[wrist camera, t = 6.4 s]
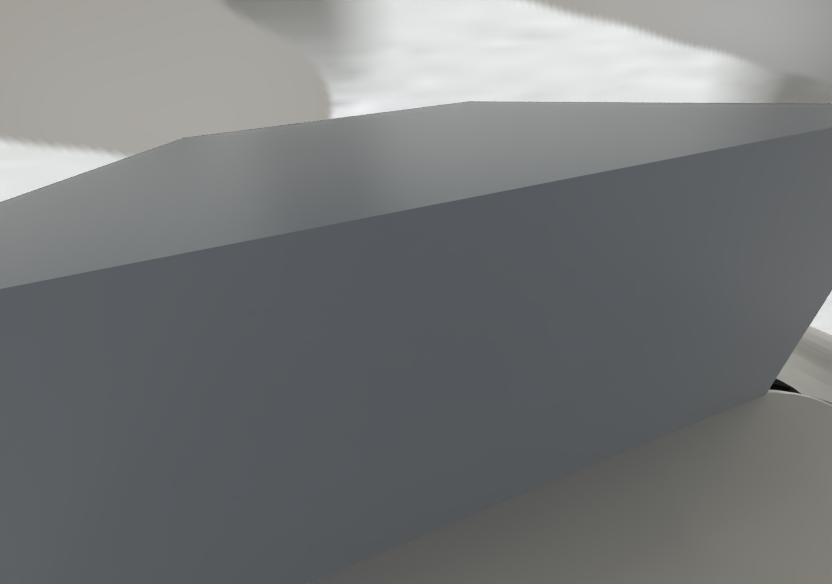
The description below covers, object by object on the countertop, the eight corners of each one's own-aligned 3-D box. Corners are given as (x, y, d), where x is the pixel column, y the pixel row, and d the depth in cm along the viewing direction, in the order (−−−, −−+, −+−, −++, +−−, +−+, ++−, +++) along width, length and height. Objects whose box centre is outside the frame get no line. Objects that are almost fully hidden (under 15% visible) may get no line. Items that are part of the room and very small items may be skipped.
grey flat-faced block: (469, 101, 10) (949, 104, 3) (473, 390, 16) (620, 625, 9) (183, 137, 8) (-559, 398, 1) (310, 444, 15) (330, 783, 7)
